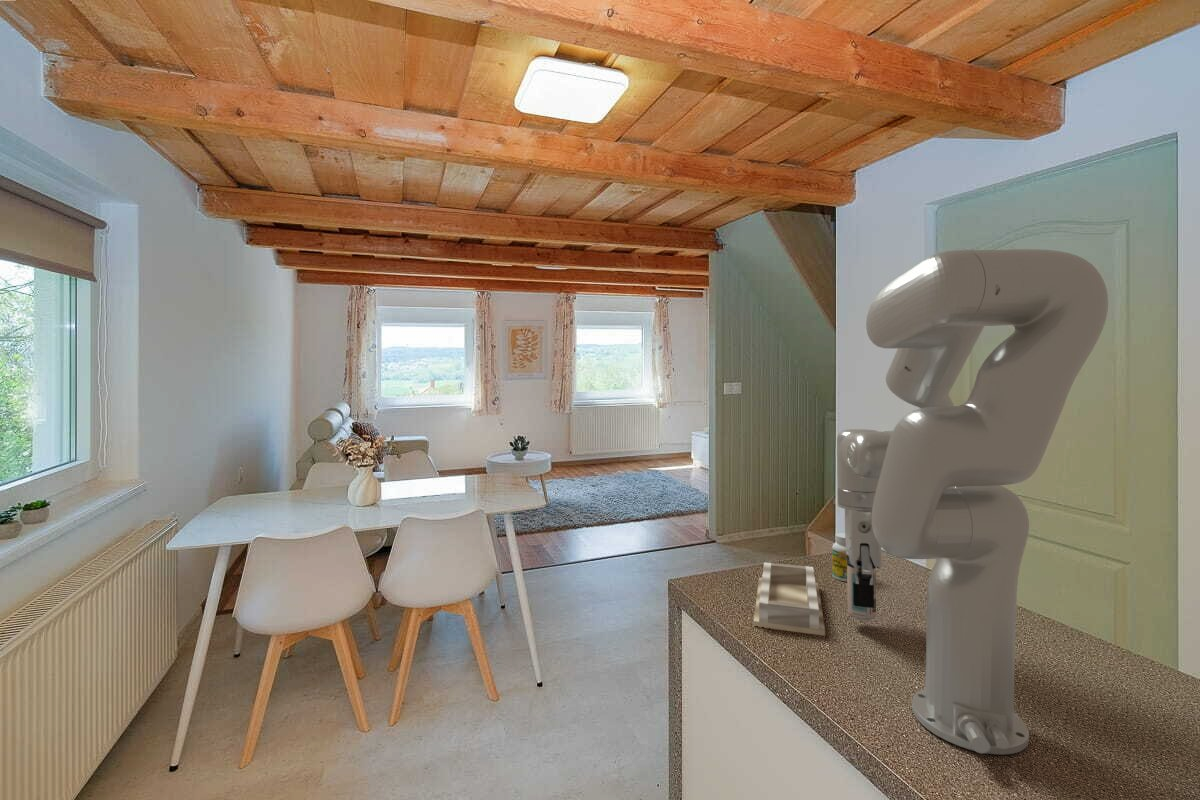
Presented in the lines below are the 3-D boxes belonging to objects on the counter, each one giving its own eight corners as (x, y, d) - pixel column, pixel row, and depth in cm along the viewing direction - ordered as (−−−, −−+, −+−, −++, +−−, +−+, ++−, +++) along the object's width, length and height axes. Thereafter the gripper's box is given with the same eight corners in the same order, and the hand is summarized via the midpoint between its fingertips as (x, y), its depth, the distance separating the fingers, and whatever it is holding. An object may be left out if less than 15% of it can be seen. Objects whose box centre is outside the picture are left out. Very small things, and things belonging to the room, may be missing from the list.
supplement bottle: (863, 579, 121) (864, 536, 121) (848, 584, 118) (849, 540, 118) (841, 571, 126) (842, 530, 125) (826, 576, 123) (827, 534, 122)
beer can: (870, 610, 100) (869, 545, 100) (881, 621, 95) (880, 553, 95) (843, 610, 101) (842, 545, 101) (852, 621, 96) (851, 552, 96)
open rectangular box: (824, 635, 95) (825, 610, 95) (753, 626, 99) (753, 602, 99) (818, 588, 116) (818, 567, 116) (759, 582, 120) (759, 561, 120)
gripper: (892, 509, 89) (893, 622, 89) (876, 491, 105) (877, 586, 105) (842, 507, 91) (843, 616, 91) (833, 489, 107) (834, 582, 107)
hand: (861, 599), depth 98 cm, fingers closed on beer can, 4 cm apart
